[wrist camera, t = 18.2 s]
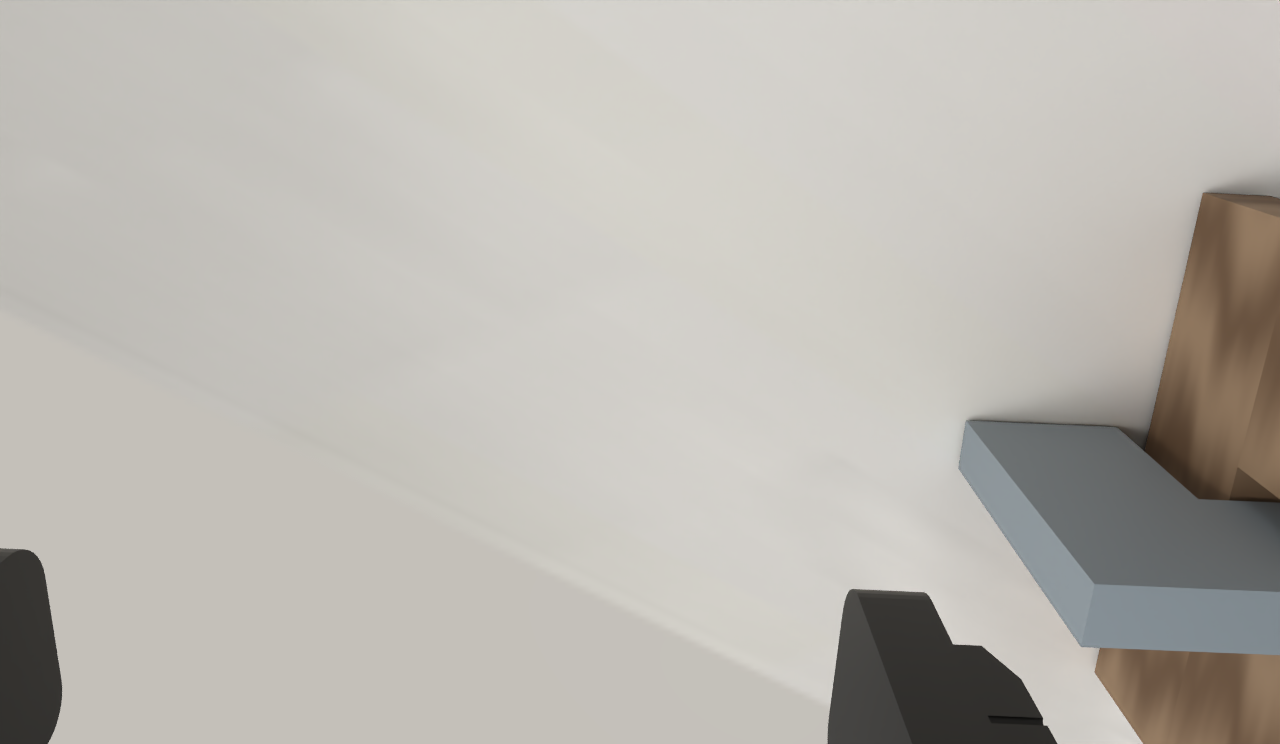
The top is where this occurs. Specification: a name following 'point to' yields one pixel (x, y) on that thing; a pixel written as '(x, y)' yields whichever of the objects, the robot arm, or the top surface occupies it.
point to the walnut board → (1215, 465)
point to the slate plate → (1128, 540)
